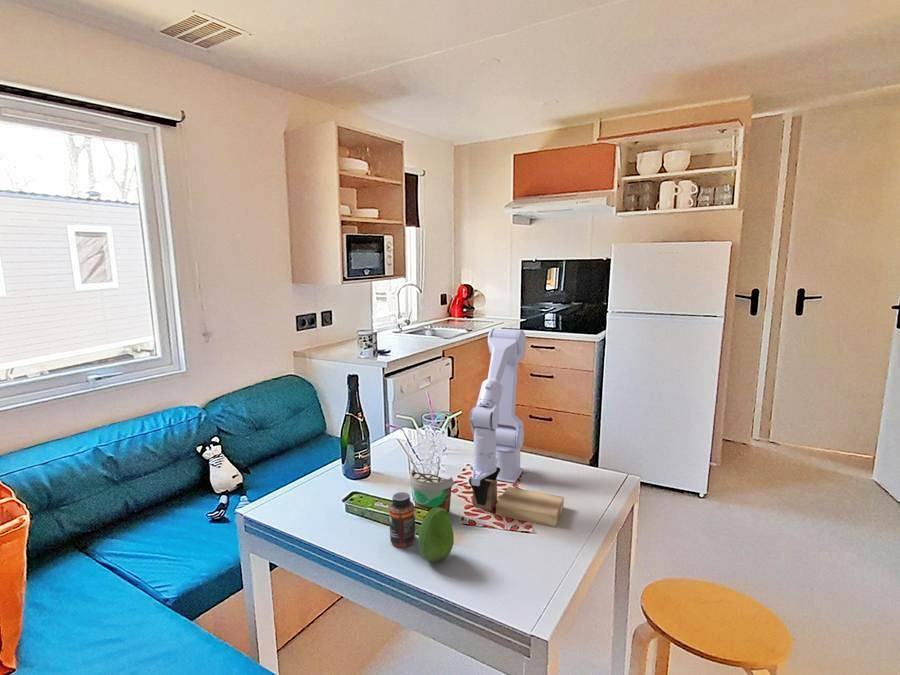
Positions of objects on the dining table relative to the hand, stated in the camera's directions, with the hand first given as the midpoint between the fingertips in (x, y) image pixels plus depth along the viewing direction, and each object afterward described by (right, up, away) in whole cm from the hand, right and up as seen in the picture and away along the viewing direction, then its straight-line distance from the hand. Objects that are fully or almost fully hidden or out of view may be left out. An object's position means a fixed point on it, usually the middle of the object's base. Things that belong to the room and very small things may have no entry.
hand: (485, 499), depth 131 cm
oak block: (+11, -2, -4) cm, 12 cm away
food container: (-15, -3, -4) cm, 16 cm away
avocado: (-12, -6, -22) cm, 26 cm away
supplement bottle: (-20, -5, -16) cm, 26 cm away
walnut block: (0, -2, 0) cm, 2 cm away
